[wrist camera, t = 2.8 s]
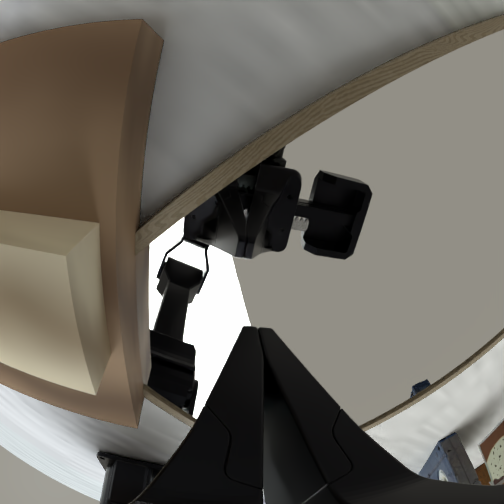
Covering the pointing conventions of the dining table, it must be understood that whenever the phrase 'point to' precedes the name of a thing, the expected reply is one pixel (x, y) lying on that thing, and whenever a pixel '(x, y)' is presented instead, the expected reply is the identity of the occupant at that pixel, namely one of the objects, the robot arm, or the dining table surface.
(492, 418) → the dining table surface
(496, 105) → the rectangular mirror
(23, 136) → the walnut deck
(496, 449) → the food container
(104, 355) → the maple tile
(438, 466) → the vhs cassette tape
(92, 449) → the dining table surface
